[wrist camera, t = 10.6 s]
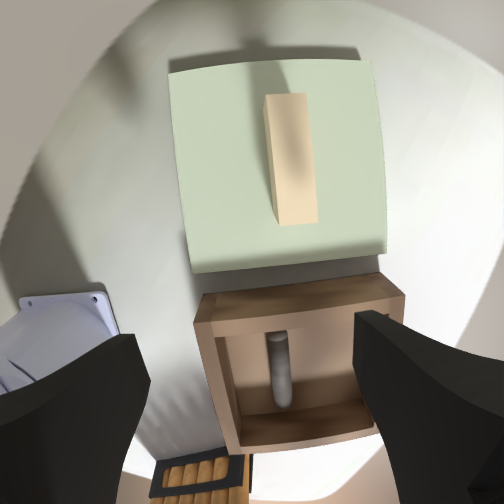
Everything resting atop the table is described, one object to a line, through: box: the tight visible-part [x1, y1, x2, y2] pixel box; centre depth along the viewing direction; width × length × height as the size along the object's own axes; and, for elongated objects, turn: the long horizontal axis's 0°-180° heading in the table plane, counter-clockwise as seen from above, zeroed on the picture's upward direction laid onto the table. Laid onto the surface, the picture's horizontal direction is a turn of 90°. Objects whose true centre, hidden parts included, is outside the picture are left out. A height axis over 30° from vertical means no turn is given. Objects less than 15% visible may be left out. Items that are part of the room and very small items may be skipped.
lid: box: [168, 59, 387, 274], centre depth 16 cm, size 12×12×5 cm
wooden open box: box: [193, 272, 405, 455], centre depth 20 cm, size 12×12×4 cm
